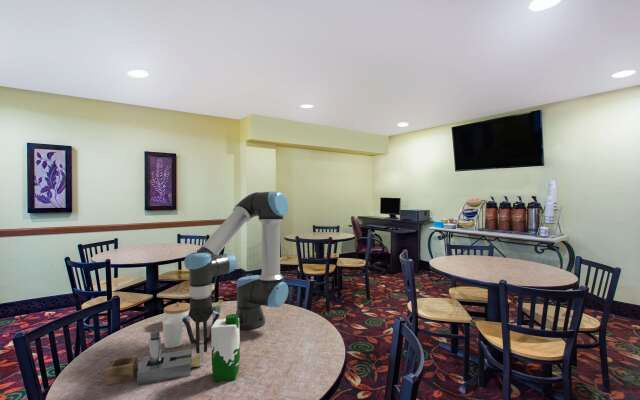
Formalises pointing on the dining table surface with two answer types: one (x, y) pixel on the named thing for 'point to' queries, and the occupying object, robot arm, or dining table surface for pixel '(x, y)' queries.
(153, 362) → the grey cylindrical rod
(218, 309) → the medication box
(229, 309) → the dining table surface
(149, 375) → the socket block
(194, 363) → the bar
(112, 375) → the tan wooden open box
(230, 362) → the milk carton
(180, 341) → the white cup
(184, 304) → the lidded bowl
